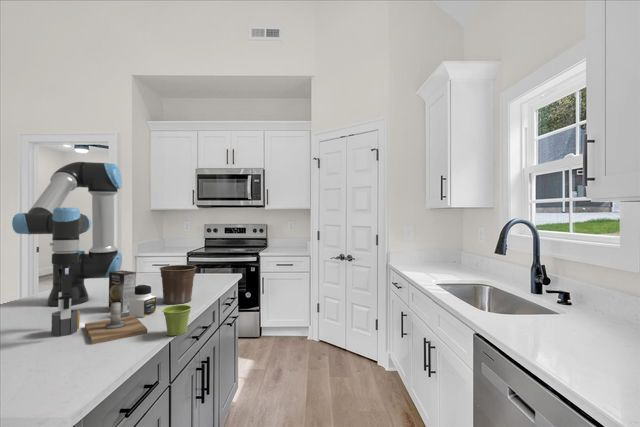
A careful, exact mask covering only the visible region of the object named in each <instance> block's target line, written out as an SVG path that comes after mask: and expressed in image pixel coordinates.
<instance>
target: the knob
mask: <svg viewBox="0 0 640 427" xmlns="http://www.w3.org/2000/svg"><path fill="white" fill-rule="evenodd" d="M60 317H61V311H58V310H57V311H54V312H52V313H51V337H64V336H70V335H73V334H75V333H77V332H78V330H80V311H78V310H77V309H71V318H68V319H60Z"/></svg>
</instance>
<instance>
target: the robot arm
mask: <svg viewBox="0 0 640 427" xmlns="http://www.w3.org/2000/svg"><path fill="white" fill-rule="evenodd" d="M49 180H50V181H49V182H50V183H49V184H47V187H46V188H44V191H42V193H41V194H40V196H39V197H38V199H37V200H36V201H35V202H34V204H33V206H32V207H31V208H30V209H29V210H28V211H27V212H21V213H20V212H18V213H16V214H15V215H14V216H13V217H12V221H11V227H12V229H13V231H14V233H16V234H18V235H51V236H52V238H51V240H52V242H50V243H49V246H51V248H52V249H51V251H52V254H51V264H52V288H51V291H50V293H49V295H48V298H47V303H46V304H48V305H47V306H49V305H50V306H49V307H57V309H58V310H57V311H61V317H60V319H68V318H71V310H72V306H74V305H80V304H83V303H86V302H88V301H89V293H88V291H87V288H86V285H85V280H87V279H109V272H113V271H121V268H122V267H121V266H122V261H123V256H122V255H123V254H122V253H121V252H119V250H118V248H117V247H116V245H115V203H114V202H115V198H114V197H115V196H116V194H118V190H120V189H121V188H122V184H123V181H122V174H121V171H120V167H119V166H117V164H115V163H109V162H92V161H91V162H90V161H89V162H88V161H73V162H70V163H68V164H66V165H64V166H61V167H60V168H58V169H57V170H55V172H54V173H53V174H52V175H51V176H50V179H49ZM76 188H87V192H88V193H89V194H90V195H91V214H92V216H91V217H92V218H91V219H92V221H91V219H90V217H89V216H88V215H86V214H83V213H81V211H80V209H79V208H78V207H62V205H63V203H64V202H65V200H66V199H67V197H68V196H69V195H70V193H71V192H73V191H74V190H76ZM91 227H92V247H91V248H90V249H88V253H86V251H85V250H80V235H81V234H84V233H86V232H88V231H89V230H90V229H91Z"/></svg>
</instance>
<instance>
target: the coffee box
mask: <svg viewBox="0 0 640 427" xmlns="http://www.w3.org/2000/svg"><path fill="white" fill-rule="evenodd" d="M136 286H137V271H129V270H121V269H120V271H113V272H109V278H108V310H110V311H111V304H112V303H117V302H119V303H121V313H125V312H129V299H130V298H134V297H135V287H136Z"/></svg>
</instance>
